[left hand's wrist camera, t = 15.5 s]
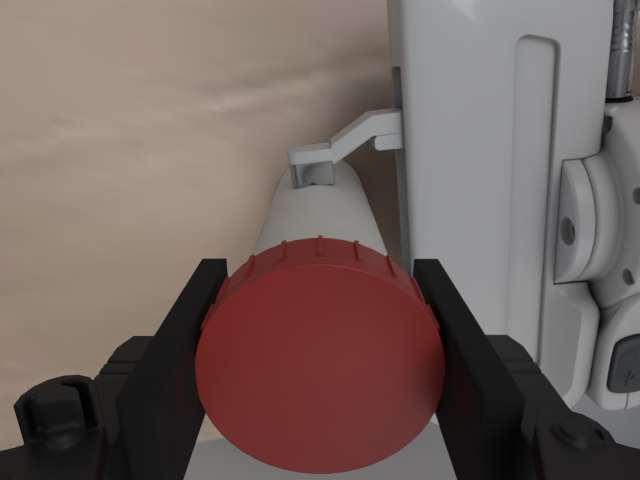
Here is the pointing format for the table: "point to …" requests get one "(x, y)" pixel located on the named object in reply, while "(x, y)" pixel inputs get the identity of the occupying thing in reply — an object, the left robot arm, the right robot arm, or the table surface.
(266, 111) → the table surface
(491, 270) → the right robot arm
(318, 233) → the jar
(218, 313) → the lid
